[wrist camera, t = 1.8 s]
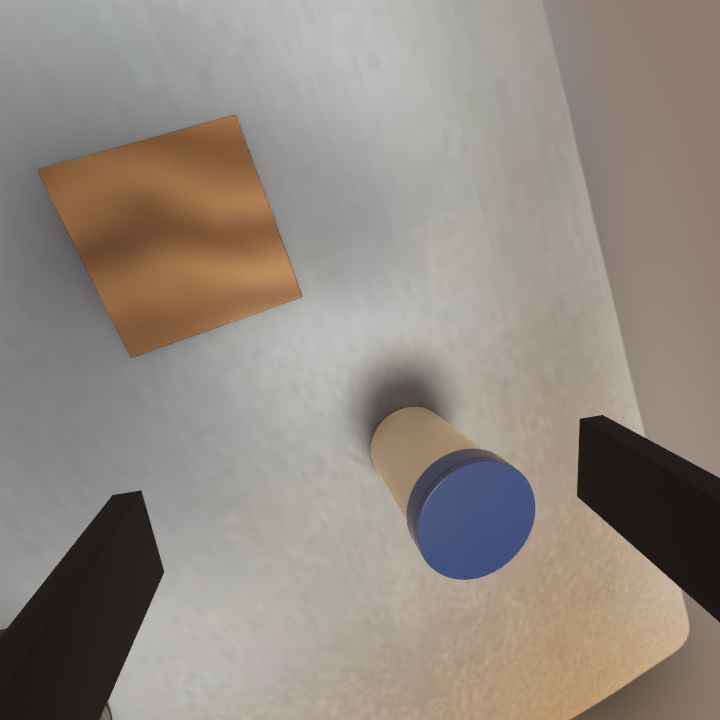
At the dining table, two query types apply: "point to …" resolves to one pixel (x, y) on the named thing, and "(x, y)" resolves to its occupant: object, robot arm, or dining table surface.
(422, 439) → the jar
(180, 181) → the coaster
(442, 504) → the lid
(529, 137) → the dining table surface
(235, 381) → the dining table surface
